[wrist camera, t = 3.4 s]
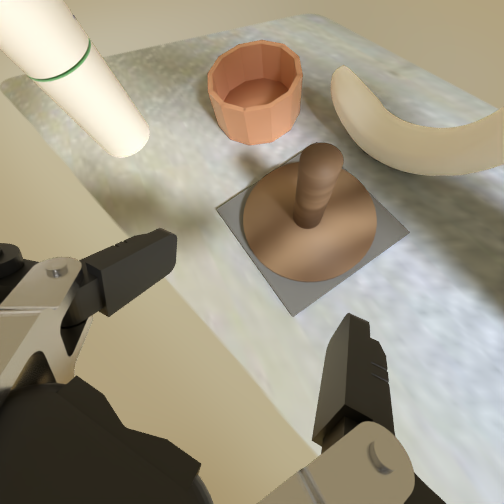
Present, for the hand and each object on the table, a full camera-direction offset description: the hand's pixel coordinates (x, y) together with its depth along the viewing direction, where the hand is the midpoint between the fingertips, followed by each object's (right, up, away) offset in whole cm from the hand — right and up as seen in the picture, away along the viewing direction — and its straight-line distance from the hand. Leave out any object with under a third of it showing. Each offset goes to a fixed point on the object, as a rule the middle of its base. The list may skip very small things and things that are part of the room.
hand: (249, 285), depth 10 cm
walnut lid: (+6, +5, +16) cm, 18 cm away
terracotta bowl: (+1, +21, +22) cm, 30 cm away
